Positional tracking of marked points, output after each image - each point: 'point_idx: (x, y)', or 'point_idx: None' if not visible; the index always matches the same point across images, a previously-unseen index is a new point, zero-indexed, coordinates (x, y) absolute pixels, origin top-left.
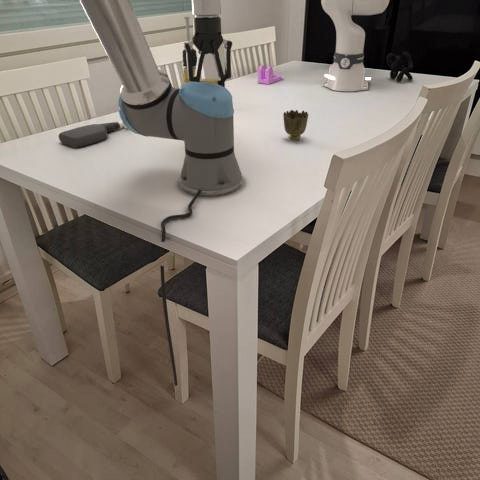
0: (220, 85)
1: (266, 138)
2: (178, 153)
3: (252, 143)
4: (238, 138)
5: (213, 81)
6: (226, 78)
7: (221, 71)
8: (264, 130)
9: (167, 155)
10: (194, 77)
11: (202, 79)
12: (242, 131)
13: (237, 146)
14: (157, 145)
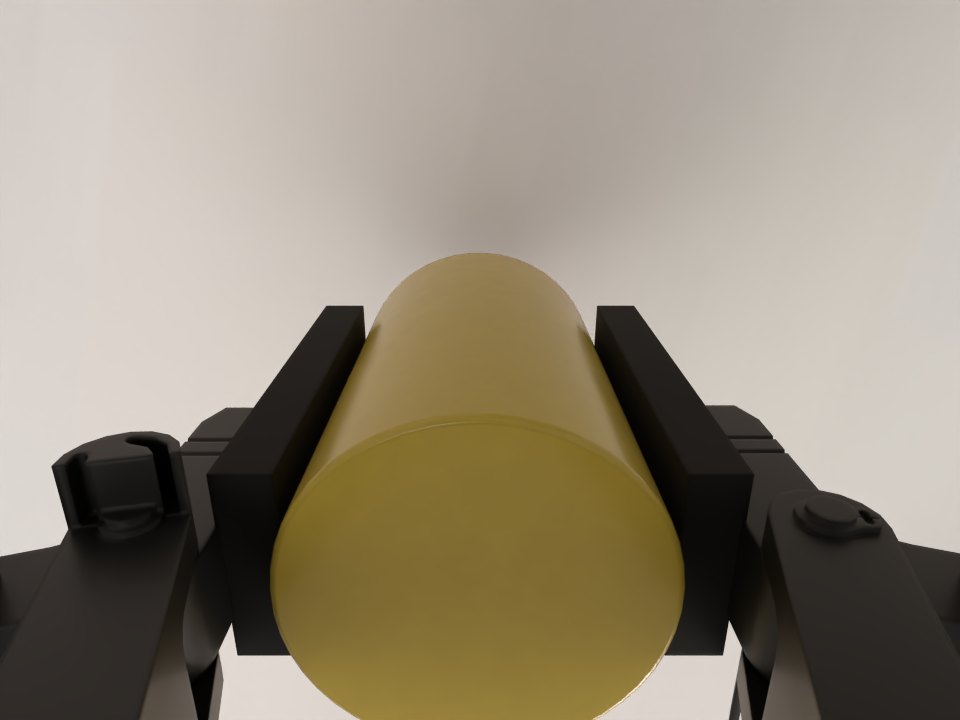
0: (256, 437)
1: (2, 175)
2: (827, 48)
3: (144, 85)
4: (249, 253)
5: (416, 424)
6: (32, 562)
7: (46, 682)
8: (3, 374)
9: (929, 29)
10: (941, 618)
11: (631, 671)
12: (191, 405)
13: (291, 51)
14: (917, 299)
